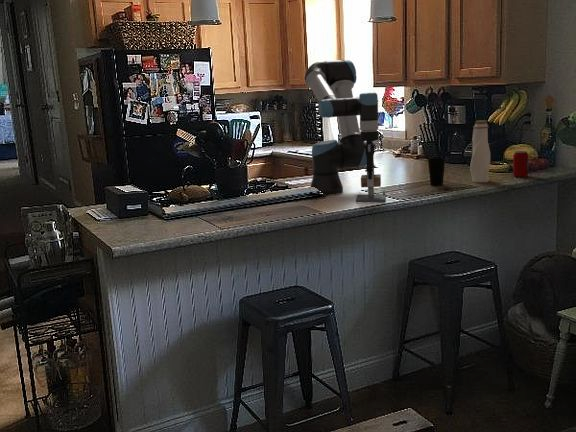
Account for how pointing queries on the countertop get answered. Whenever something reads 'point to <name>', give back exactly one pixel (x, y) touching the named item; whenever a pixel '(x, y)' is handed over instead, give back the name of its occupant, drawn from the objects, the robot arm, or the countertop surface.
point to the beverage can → (520, 163)
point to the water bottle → (480, 152)
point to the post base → (366, 199)
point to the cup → (436, 171)
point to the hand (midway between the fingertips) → (370, 184)
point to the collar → (376, 180)
